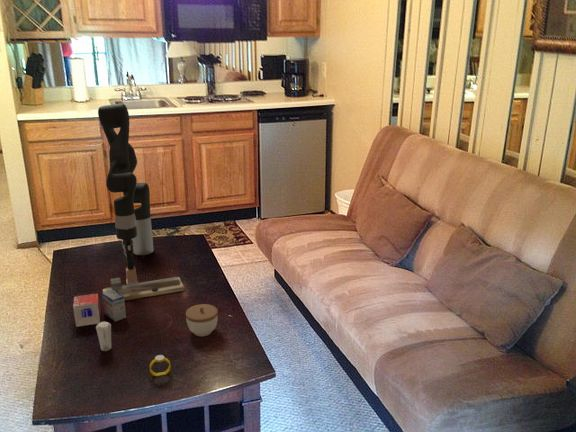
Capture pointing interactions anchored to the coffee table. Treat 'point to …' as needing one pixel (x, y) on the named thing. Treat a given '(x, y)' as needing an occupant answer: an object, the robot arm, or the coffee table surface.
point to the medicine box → (113, 305)
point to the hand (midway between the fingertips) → (129, 264)
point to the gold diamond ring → (160, 359)
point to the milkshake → (104, 335)
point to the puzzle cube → (86, 309)
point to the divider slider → (131, 278)
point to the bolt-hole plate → (149, 293)
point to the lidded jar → (202, 319)
